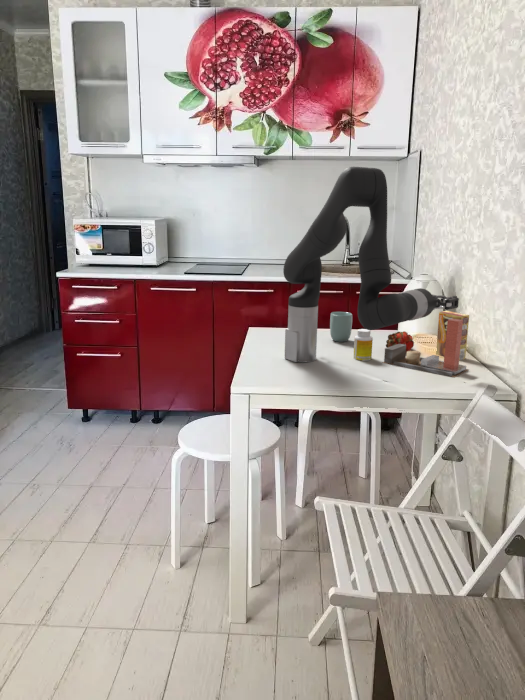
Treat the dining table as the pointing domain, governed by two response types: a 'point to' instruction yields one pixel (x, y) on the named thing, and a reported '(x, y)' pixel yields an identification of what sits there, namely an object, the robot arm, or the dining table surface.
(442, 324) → the candy box
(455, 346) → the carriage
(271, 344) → the dining table surface
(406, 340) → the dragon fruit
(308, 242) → the robot arm
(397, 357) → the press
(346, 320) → the cup
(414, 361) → the puck
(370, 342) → the supplement bottle
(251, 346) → the dining table surface
